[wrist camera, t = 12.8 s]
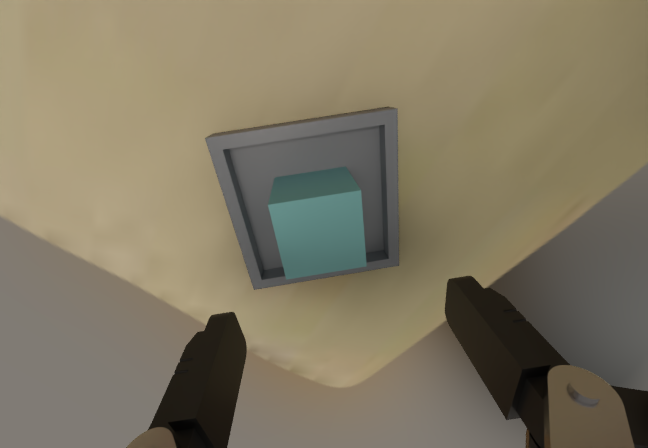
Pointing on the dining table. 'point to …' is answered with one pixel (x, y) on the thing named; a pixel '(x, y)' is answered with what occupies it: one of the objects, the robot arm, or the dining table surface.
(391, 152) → the tray
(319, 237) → the teal cube
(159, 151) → the dining table surface
